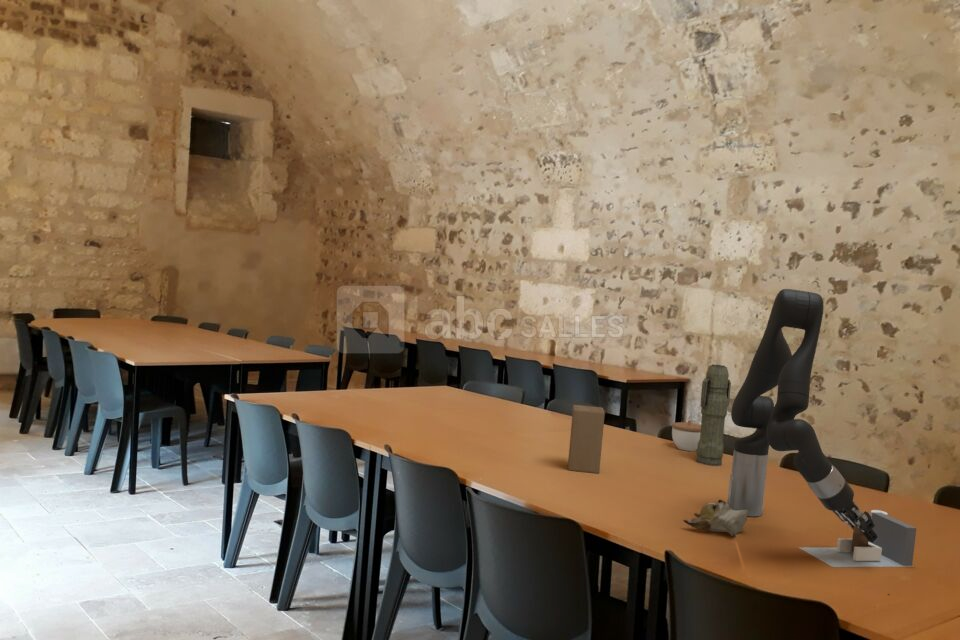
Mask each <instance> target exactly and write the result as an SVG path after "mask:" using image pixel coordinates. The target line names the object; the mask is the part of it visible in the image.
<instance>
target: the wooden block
mask: <svg viewBox="0 0 960 640" xmlns="http://www.w3.org/2000/svg"><path fill="white" fill-rule="evenodd" d="M605 414H606V413H605V410H604V407H601V406H591V405H590V406H589V405H579V404H573V406H572V415H571V425H570V426H571V427H570V438H569V449H568V461H567V465H568V466H567V467H568V468H567V469H568V471H570V472H571V471H572V472H581V473H589V474H599V473H600V472H601V459H602V458H601V457H602V450H603V449H602V447H603V437H604V425H605Z"/></svg>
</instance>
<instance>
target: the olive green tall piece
mask: <svg viewBox="0 0 960 640" xmlns="http://www.w3.org/2000/svg"><path fill="white" fill-rule="evenodd" d="M729 374H730V373H729V370H728V367H727V366H725V365H722V364H711V365H709V366H708V368H707V371H706V374H705V377H704V379H703V380H702V384H701V392H700V407H701V408H700V413H701V421H700V422H701V423H700V425H701V432H700V440H699V442H698V447H697V450H696V455H697V457H696V462H697V463H698V464H701V465H706V466H713V467H714V466H721V465H722V460H723V457H724V448H725V445H724V442H723V440H724V431H725V419H726V417H727V414H728V407H729V406H730V396H731V386H732V383H731V380H730V379H729V377H730V376H729Z"/></svg>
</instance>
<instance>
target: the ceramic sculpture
mask: <svg viewBox="0 0 960 640" xmlns="http://www.w3.org/2000/svg"><path fill="white" fill-rule="evenodd" d="M747 513H748V510H739V511H735V510H732V509H731V508H730V507H729V505H728V502H726V501H724V500H722V499H718V501H717V502H709V503H706V504H705V505H703V506H702V507H701V509H700V513H697V512H695V513H693V515H694V516H695V517H694V518H691V519H683V523H685V524H686V525H688V526H690V527H692V528H694V529H698V530H707V531H708V532H712V533H722V532H724V533H725V532H726V533H728V534H729V535H730V536H732V537H736V534H740V533H741V532H742V531H743V528H744V527H745V525H746V522H747V517H748V516H747Z"/></svg>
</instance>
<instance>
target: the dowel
mask: <svg viewBox="0 0 960 640" xmlns="http://www.w3.org/2000/svg"><path fill="white" fill-rule="evenodd" d="M870 517H871V516H870ZM854 521H855V520H854ZM860 525H861V524H860ZM861 527H862V526H861ZM852 531H853V532H852V537H851V538H852V547H851V551H852V552H853V553H854V547H868V542H869V541H868V539H867V538H866V537H865V535H864V534H863V533H862V532H861V531H860V529H859V528H858V527H857V526H854V529H852Z"/></svg>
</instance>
